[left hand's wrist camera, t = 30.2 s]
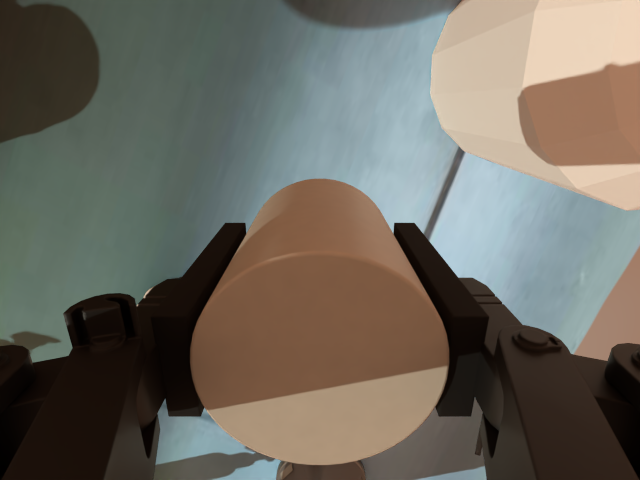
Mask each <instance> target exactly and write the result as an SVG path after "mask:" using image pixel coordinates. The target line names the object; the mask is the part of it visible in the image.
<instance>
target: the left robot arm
mask: <svg viewBox="0 0 640 480" xmlns="http://www.w3.org/2000/svg"><path fill="white" fill-rule="evenodd" d="M245 236H246V225H245V223H225V224H224V225H223V227H222V228H221V229H220V230H219V232H218V233H217V234H216V235H215V237H214V238H213V239H212V240H211V242H210V243H209V244H208V245H207V247H206V248H205V249H204V250H203V252H202V253H201V254H200V255H199V257H198V258H197V259H196V260H195V262H194V263H193V264H192V265H191V267H190V268H189V269H188V270H187V272H186V273H185V274H184V275H183V277H182V278H181V279H167V280H165V281H163V282H161V283H160V284H158V285H156V286H154V287H153V288H152V289H151V290H150V291H149V292H148V294H147V295H146V296H145V298H143V299H142V300H141V301H140V302H139V303H138V306H136V303H135V299H134V298H133V297H132V296H130V295H127V294H121V293H115V294H104V295H99V296H94V297H91V298H88V299H85V300H83V301H80V302H78V303H77V304H75V305H73V306H71V307H70V308H69V309H68V310H66V311H65V312H64V313H63V315H64V318H65V322H66V325H67V329H68V333H69V336H70V340H71V343H72V347H73V349H72V350H71V352H70V354H69V356H66V357H61V358H56V359H51V360H45V361H40V362H35V363H32V360H31V357H30V354H29V350H28V349H26V348H25V347H23V346H17V345H7V346H0V480H153V478H154V470H155V463H156V456H157V449H158V441H159V434H160V425H159V419H158V414H157V413H158V411H159V409H160V407H161V405H162V403H163V401H164V399H166V404H167V409H168V415H169V416H201V414H202V412H203V409H204V406H203V404H202V402H201V400H200V398H199V396H198V394H197V392H196V389H195V385H194V382H193V379H192V373H191V366H190V347H191V341H192V335H193V332H194V329H195V326H196V323H197V320H198V319H199V317H200V315H201V313H202V311H203V309H204V307H205V306H206V304H207V302H208V300H209V299H210V297H211V295H212V293H213V292H214V290H215V288H216V286H217V285H218V283H219V281H220V279H221V278H222V276H223V274H224V272H225V271H226V269H227V267H228V265H229V264H230V262H231V260H232V258H233V257H234V255H235V253H236V251H237V250H238V248H239V246H240V244H241V243H242V241H243V239H244V237H245ZM394 236H395V238H396V240H397V241H398V243H399V245H400V247H401V249H402V250H403V252H404V254H405V256H406V257H407V259H408V261H409V263H410V264H411V266H412V268H413V270H414V271H415V273H416V275H417V277H418V278H419V280H420V282H421V284H422V286H423V287H424V289H425V291H426V293H427V294H428V296H429V298H430V300H431V301H432V303H433V305H434V307H435V309H436V310H437V312H438V314H439V316H440V318H441V320H442V322H443V325H444V328H445V331H446V334H447V339H448V345H449V369H448V376H447V380H446V384H445V387H444V390H443V393H442V395H441V397H440V399H439V401H438V403H437V405H436V406H435V407H436V410H437V412H438V415H439V416H471V413H472V408H473V403H474V397H475V398H476V400H477V402H478V404H479V406H480V407H481V409H482V411H483V414H482V419H481V424H480V429H479V434H478V439H477V444H476V451H475V454H476V455H480V454H481V449H482V448H483V455H484V462H485V470H486V477H487V480H640V345H639V344H631V343H625V344H617V345H616V346H614V347H613V348H612V349H611V353H610V356H609V359H608V361H604V360H598V359H593V358H587V357H582V356H577V355H573V354H571V353H570V352H569V350H568V348H567V347H566V346H565V344H564V343H563V342H562V341H561V340H560V339H558V338H557V337H555V336H554V335H552V334H551V333H548V332H546V331H543V330H541V329H538V328H534V327H530V326H526V325H522V324H521V323H520V322H519V320H518V319H517V318H516V317H515V316H514V315H513V314H512V313H511V312H510V311H509V310H508V309H507V307H506V306H505V305H504V304H502V302H501V301H500V300H499V299H498V298H497V297H495V294H494V293H493V292H492V291H491V290H490V289H489V288H488V287H487V286H486V285H484V284H483V283H481V282H479V281H477V280H475V279H474V278H458V277H457V276H456V274H455V273H454V272H453V271H452V269H451V268H450V267H449V266H448V264H447V263H446V262H445V261H444V259H443V258H442V257H441V256H440V254H439V253H438V252H437V251H436V249H435V248H434V247H433V246H432V244H431V243H430V242H429V241H428V239H427V238H426V237H425V236H424V234H423V233H422V232H421V231H420V229H419V228H418V227H417V226H416V224H415V223H394ZM276 480H366V479H365V471H364V467H363V465H362V463H361V461H360V460H357V461H353V462H348V463H342V464H332V465H307V464H297V463H292V462H287V461H281V462H280V464H279V466H278V470H277V477H276Z"/></svg>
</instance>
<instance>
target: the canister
mask: <svg viewBox="0 0 640 480" xmlns="http://www.w3.org/2000/svg"><path fill="white" fill-rule="evenodd" d="M190 366H191V373H192V379H193V382H194V385H195V389H196V392H197V394H198V396H199V398H200V400H201V402H202V404H203V406H204V407H205V409H206V410H207V412H208V413H209V415H210V416H211V417H212V418H213V419H214V421H215V422H216V423H217V424H218V425H219V426H220V427H221V428H222V429H223V430H224V431H225V432H227V433H228V434H229V435H230V436H231V437H233V438H234V439H236V440H237V441H239V442H240V443H241V444H243V445H245V446H247V447H249V448H250V449H252V450H254V451H256V452H259V453H261V454H264V455H266V456H269V457H272V458H275V459H279V460H282V461H287V462H292V463H297V464H307V465H332V464H342V463H348V462H353V461H357V460H361V459H364V458H368V457H371V456H373V455H376V454H378V453H381V452H383V451H385V450H387V449H389V448H391V447H393V446H395V445H396V444H398V443H399V442H401V441H402V440H404V439H405V438H407V437H408V436H409V435H411V434H412V433H413V432H414V431H415V430H416V429H417V428H419V427H420V426H421V424H422V423H423V422H424V421H425V420H426V419H427V418H428V417H429V415H430V414H431V412H432V411H433V409H434V408H435V406H436V405H437V403H438V401H439V399H440V397H441V395H442V393H443V390H444V387H445V384H446V380H447V376H448V369H449V345H448V339H447V334H446V331H445V328H444V325H443V322H442V320H441V318H440V316H439V314H438V312H437V310H436V309H435V307H434V305H433V303H432V301H431V300H430V298H429V296H428V294H427V293H426V291H425V289H424V287H423V286H422V284H421V282H420V280H419V278H418V277H417V275H416V273H415V271H414V270H413V268H412V266H411V264H410V263H409V261H408V259H407V257H406V256H405V254H404V252H403V250H402V249H401V247H400V245H399V243H398V241H397V240H396V238H395V236H394V234H393V233H392V231H391V229H390V227H389V226H388V224H387V222H386V220H385V219H384V217H383V215H382V213H381V212H380V210H379V209H378V207H377V206H376V205H375V203H374V202H373V201H372V200H371V199H370V198H369V197H368V196H367V195H365V194H364V193H363V192H361V191H360V190H358V189H356V188H355V187H353V186H351V185H348V184H346V183H343V182H340V181H336V180H330V179H310V180H304V181H300V182H296V183H294V184H291V185H289V186H287V187H285V188H283V189H282V190H280V191H278V192H277V193H276V194H274V195H273V196H272V197H271V198H270V199H269V200H268V201H267V202H266V203H265V204H264V206H263V207H262V208H261V210H260V211H259V213H258V215H257V216H256V218H255V220H254V222H253V223H252V225H251V227H250V229H249V230H248V232H247V234H246V236H245V237H244V239H243V241H242V243H241V244H240V246H239V248H238V250H237V251H236V253H235V255H234V257H233V258H232V260H231V262H230V264H229V265H228V267H227V269H226V271H225V272H224V274H223V276H222V278H221V279H220V281H219V283H218V285H217V286H216V288H215V290H214V292H213V293H212V295H211V297H210V299H209V300H208V302H207V304H206V306H205V307H204V309H203V311H202V313H201V315H200V317H199V319H198V320H197V323H196V326H195V329H194V332H193V335H192V341H191V347H190Z"/></svg>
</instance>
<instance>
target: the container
mask: <svg viewBox="0 0 640 480" xmlns="http://www.w3.org/2000/svg"><path fill="white" fill-rule="evenodd" d="M430 96H431V98H432V101H433V104H434V107H435V110H436V113H437V116H438V119H439V122H440V124H441V127H442V129H443V130H444V131H445V132H446V133H447V134H448V135H449V136H450V137H451V138H452V139H453V140H454V141H455V142H456V143H457V144H458V146H459V147H460V148H461V149H462V150H463V151H464V152H467V153H470V154H472V155H475V156H478V157H480V158H483V159H486V160H488V161H491V162H493V163H496V164H499V165H502V166H504V167H507V168H510V169H513V170H516V171H518V172H521V173H524V174H527V175H529V176H532V177H535V178H538V179H541V180H543V181H546V182H549V183H552V184H554V185H557V186H560V187H563V188H566V189H568V190H571V191H574V192H577V193H579V194H582V195H585V196H588V197H591V198H593V199H596V200H599V201H602V202H604V203H607V204H610V205H613V206H616V207H618V208H621V209H624V210H639V209H640V0H462V1H461V2H460V3H459V4H458V5H457V7H456V8H455V9H454V10H453V11H452V12H451V13H450V14H449V16H448V18H447V20H446V23H445V25H444V28H443V30H442V32H441V35H440V37H439V40H438V42H437V45H436V47H435V49H434V52H433V54H432V67H431V87H430Z"/></svg>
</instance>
